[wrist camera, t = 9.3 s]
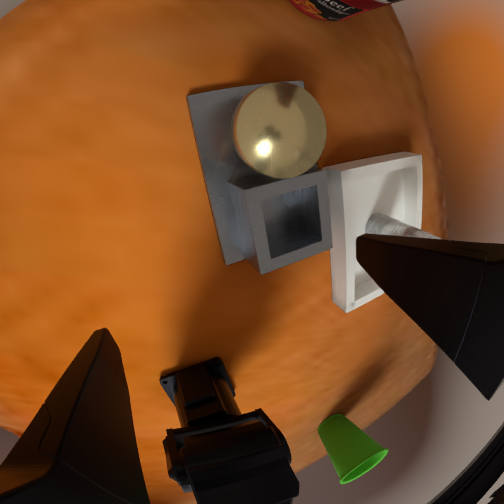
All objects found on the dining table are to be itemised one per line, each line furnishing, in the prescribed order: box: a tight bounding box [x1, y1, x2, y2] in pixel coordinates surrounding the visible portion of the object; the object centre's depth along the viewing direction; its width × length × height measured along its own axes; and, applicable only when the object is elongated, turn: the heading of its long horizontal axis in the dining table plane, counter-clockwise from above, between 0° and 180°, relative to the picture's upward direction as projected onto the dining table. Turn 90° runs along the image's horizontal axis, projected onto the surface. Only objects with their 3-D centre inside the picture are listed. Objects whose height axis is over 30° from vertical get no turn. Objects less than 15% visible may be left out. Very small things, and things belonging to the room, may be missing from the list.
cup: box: [318, 414, 388, 484], centre depth 37 cm, size 9×9×11 cm
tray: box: [323, 152, 422, 313], centre depth 27 cm, size 14×11×2 cm
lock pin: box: [365, 213, 443, 240], centre depth 24 cm, size 3×3×9 cm
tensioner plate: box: [186, 81, 333, 275], centre depth 19 cm, size 13×9×5 cm
